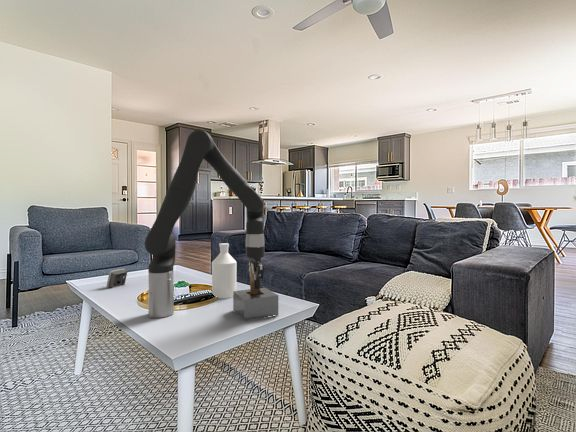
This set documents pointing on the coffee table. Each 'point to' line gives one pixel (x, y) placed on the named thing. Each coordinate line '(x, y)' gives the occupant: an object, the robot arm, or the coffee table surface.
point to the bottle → (224, 273)
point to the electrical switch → (116, 278)
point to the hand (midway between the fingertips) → (255, 287)
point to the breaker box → (255, 304)
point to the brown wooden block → (252, 289)
